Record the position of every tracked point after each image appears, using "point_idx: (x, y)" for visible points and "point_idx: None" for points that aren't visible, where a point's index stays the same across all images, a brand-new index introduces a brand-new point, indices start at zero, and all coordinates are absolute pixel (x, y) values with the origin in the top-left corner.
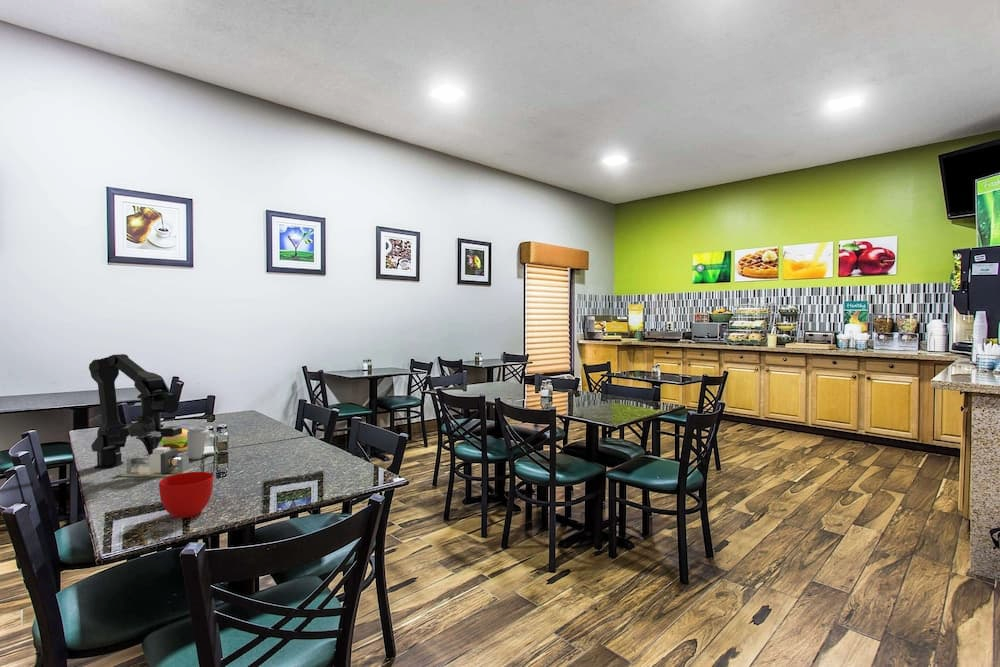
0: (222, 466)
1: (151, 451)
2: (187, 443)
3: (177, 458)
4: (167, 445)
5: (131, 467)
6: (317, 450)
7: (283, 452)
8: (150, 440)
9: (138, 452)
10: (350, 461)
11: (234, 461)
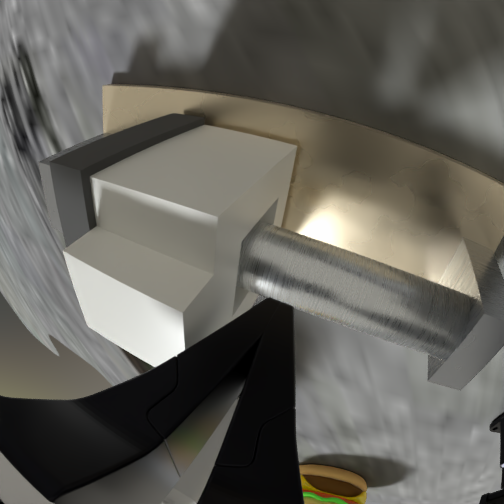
0: (58, 231)
1: (236, 323)
2: (208, 451)
3: None
4: (343, 491)
5: (468, 262)
6: (11, 298)
7: (41, 316)
8: (94, 440)
9: (433, 485)
10: None
11: (68, 284)
